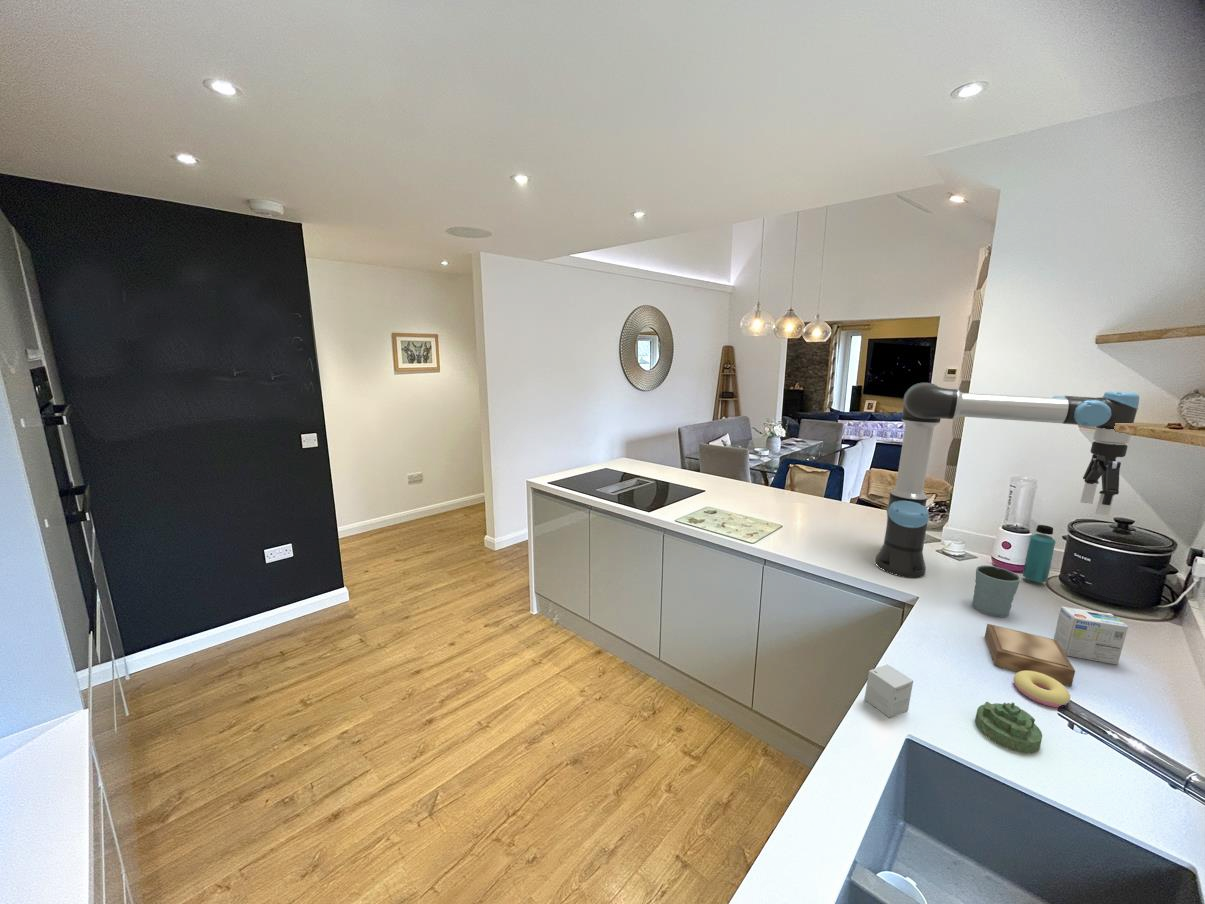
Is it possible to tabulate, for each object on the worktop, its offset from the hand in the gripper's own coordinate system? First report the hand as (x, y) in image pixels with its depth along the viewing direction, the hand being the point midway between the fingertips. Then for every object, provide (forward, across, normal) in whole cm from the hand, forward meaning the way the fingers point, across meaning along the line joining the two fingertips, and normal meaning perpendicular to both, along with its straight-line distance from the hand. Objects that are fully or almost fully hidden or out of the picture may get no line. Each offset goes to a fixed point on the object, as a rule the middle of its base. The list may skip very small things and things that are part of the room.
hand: (1093, 508), depth 150 cm
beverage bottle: (+28, 0, +10) cm, 30 cm away
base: (+28, -57, +23) cm, 68 cm away
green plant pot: (+28, -31, +26) cm, 50 cm away
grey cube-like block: (+28, -94, +53) cm, 112 cm away
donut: (+28, -71, +23) cm, 80 cm away
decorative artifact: (+28, -90, +32) cm, 100 cm away
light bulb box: (+28, -45, +9) cm, 54 cm away
